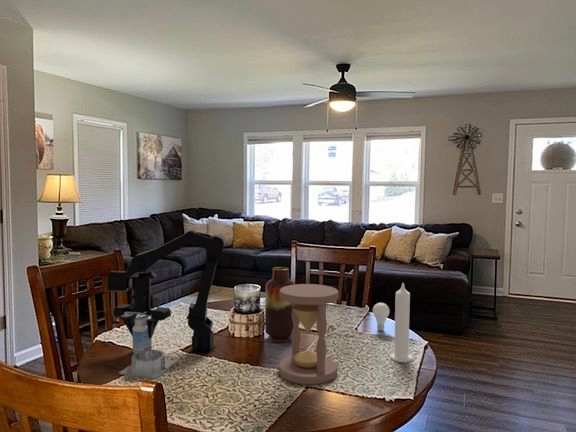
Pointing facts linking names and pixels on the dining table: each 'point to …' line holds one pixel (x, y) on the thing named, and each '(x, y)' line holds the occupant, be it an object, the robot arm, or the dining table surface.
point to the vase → (278, 308)
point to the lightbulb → (380, 314)
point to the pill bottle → (141, 335)
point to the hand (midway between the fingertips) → (142, 337)
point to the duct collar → (148, 364)
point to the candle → (401, 326)
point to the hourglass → (307, 311)
